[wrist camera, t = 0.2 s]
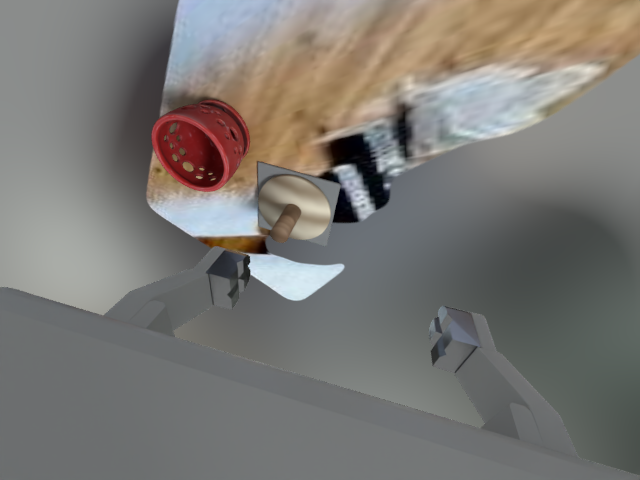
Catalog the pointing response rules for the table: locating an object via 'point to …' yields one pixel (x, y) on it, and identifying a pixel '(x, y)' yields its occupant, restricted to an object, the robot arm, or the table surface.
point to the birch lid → (294, 208)
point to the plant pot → (202, 143)
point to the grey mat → (326, 186)
